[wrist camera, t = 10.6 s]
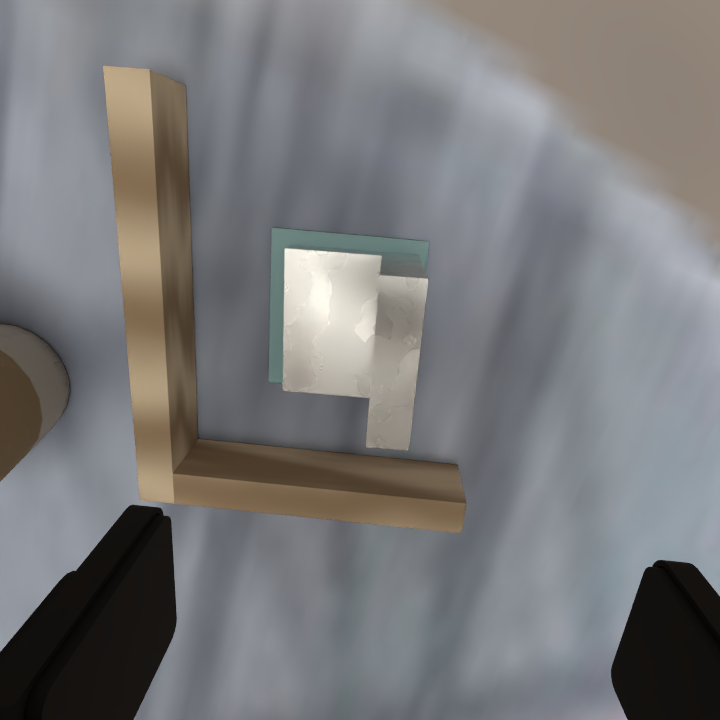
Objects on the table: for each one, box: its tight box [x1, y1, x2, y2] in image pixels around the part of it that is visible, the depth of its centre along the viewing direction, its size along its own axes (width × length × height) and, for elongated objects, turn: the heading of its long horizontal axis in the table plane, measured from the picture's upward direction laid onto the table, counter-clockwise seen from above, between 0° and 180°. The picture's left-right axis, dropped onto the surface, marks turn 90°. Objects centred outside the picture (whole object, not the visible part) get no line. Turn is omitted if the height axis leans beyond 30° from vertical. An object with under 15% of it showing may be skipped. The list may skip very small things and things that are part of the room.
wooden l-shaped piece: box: [103, 66, 467, 533], centre depth 27 cm, size 22×18×4 cm
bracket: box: [283, 245, 428, 451], centre depth 25 cm, size 8×7×7 cm
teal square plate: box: [269, 227, 429, 383], centre depth 28 cm, size 9×8×1 cm
